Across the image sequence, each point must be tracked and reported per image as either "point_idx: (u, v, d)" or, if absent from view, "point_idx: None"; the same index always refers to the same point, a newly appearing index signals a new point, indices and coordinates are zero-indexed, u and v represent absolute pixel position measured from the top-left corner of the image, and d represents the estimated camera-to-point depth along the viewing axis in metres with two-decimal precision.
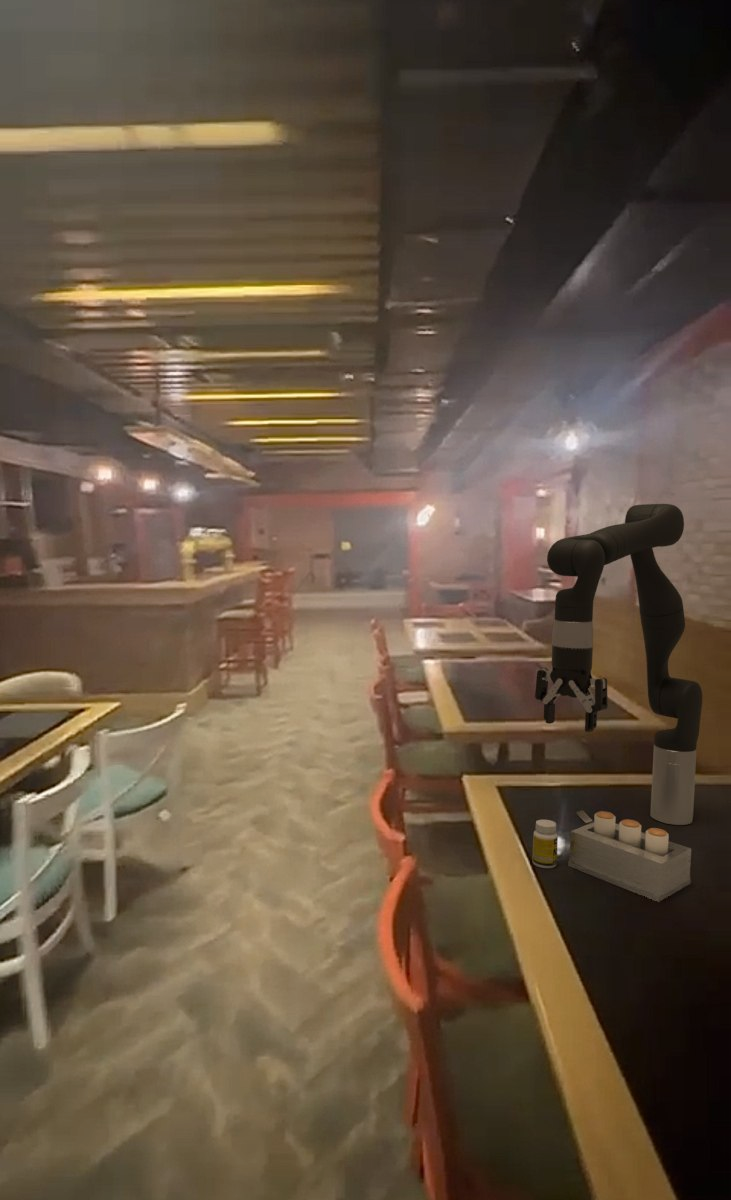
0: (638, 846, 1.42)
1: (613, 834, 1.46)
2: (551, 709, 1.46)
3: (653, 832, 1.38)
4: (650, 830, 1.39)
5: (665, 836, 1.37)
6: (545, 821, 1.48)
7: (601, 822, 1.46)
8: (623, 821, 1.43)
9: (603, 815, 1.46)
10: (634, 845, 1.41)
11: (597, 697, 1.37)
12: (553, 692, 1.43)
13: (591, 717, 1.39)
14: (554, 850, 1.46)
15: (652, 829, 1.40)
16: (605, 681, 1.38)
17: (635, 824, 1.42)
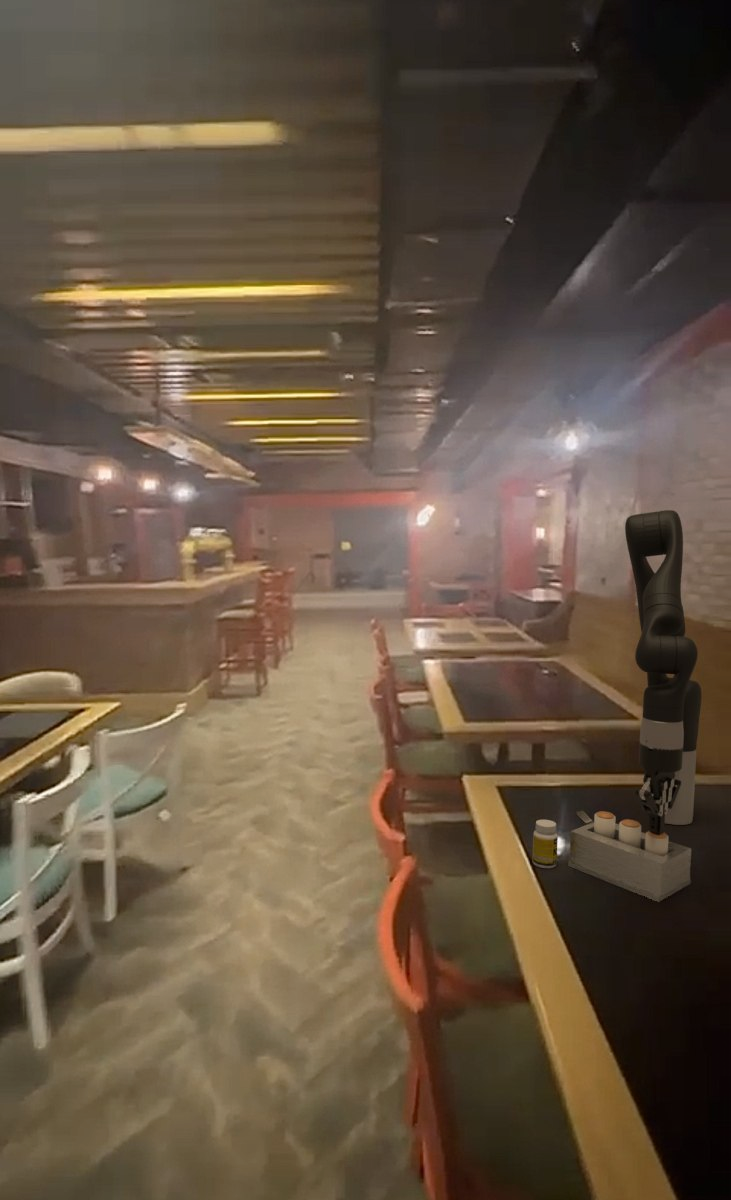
0: (638, 846, 1.42)
1: (613, 834, 1.46)
2: None
3: (653, 834, 1.38)
4: None
5: (665, 838, 1.37)
6: (545, 821, 1.48)
7: (601, 822, 1.46)
8: (623, 821, 1.43)
9: (603, 815, 1.46)
10: (634, 845, 1.41)
11: (673, 796, 1.40)
12: (664, 798, 1.36)
13: None
14: (554, 850, 1.46)
15: None
16: None
17: (635, 824, 1.42)
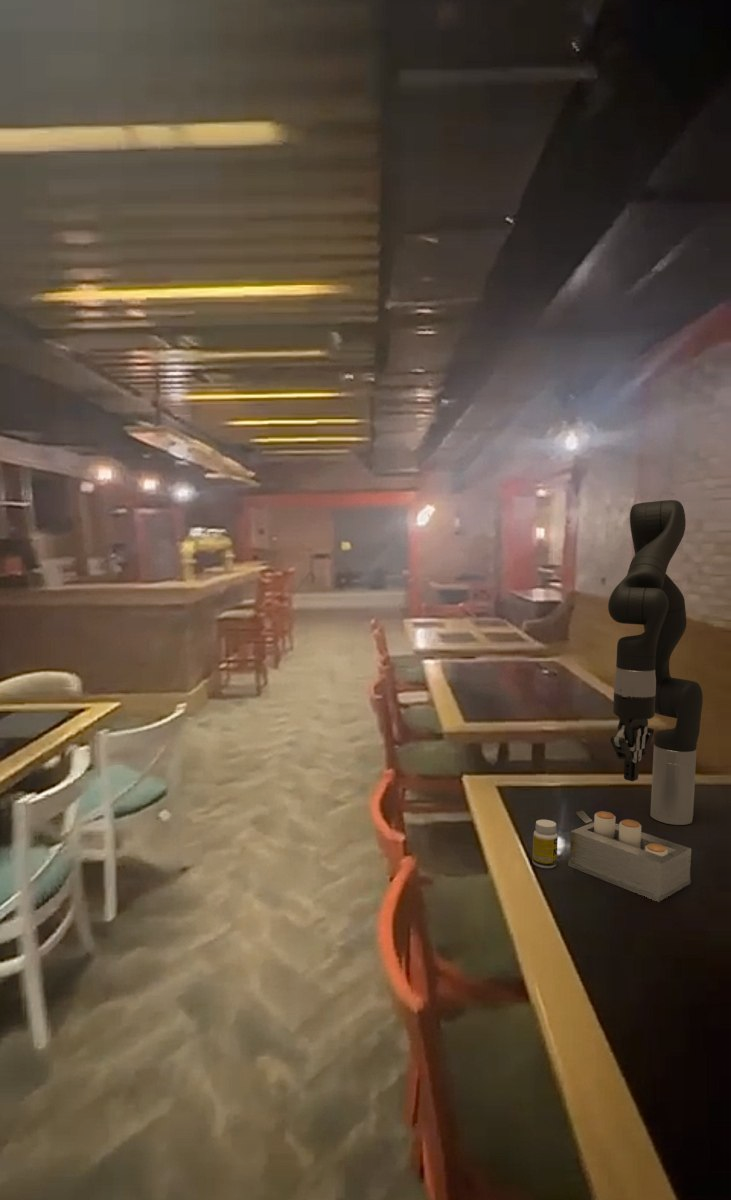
0: (638, 846, 1.42)
1: (613, 834, 1.46)
2: None
3: (652, 848, 1.38)
4: (649, 846, 1.39)
5: (664, 852, 1.38)
6: (545, 821, 1.48)
7: (601, 822, 1.46)
8: (623, 821, 1.43)
9: (603, 815, 1.46)
10: (634, 845, 1.41)
11: (647, 744, 1.44)
12: (638, 745, 1.41)
13: None
14: (554, 850, 1.46)
15: (651, 844, 1.40)
16: None
17: (635, 824, 1.42)
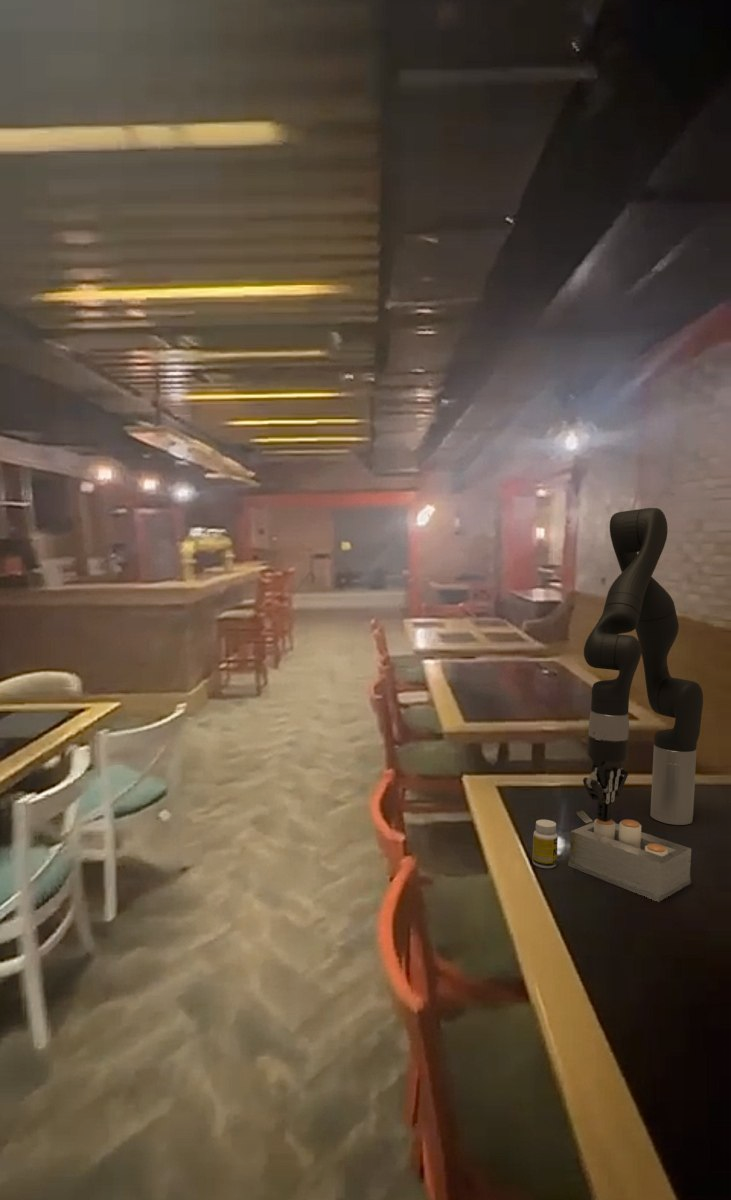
0: (638, 846, 1.42)
1: None
2: None
3: (652, 848, 1.38)
4: (649, 846, 1.39)
5: (664, 852, 1.38)
6: (545, 821, 1.48)
7: (601, 828, 1.46)
8: (623, 821, 1.43)
9: (603, 821, 1.46)
10: (634, 845, 1.41)
11: (621, 785, 1.48)
12: (611, 786, 1.45)
13: None
14: (554, 850, 1.46)
15: (651, 844, 1.40)
16: None
17: (635, 824, 1.42)
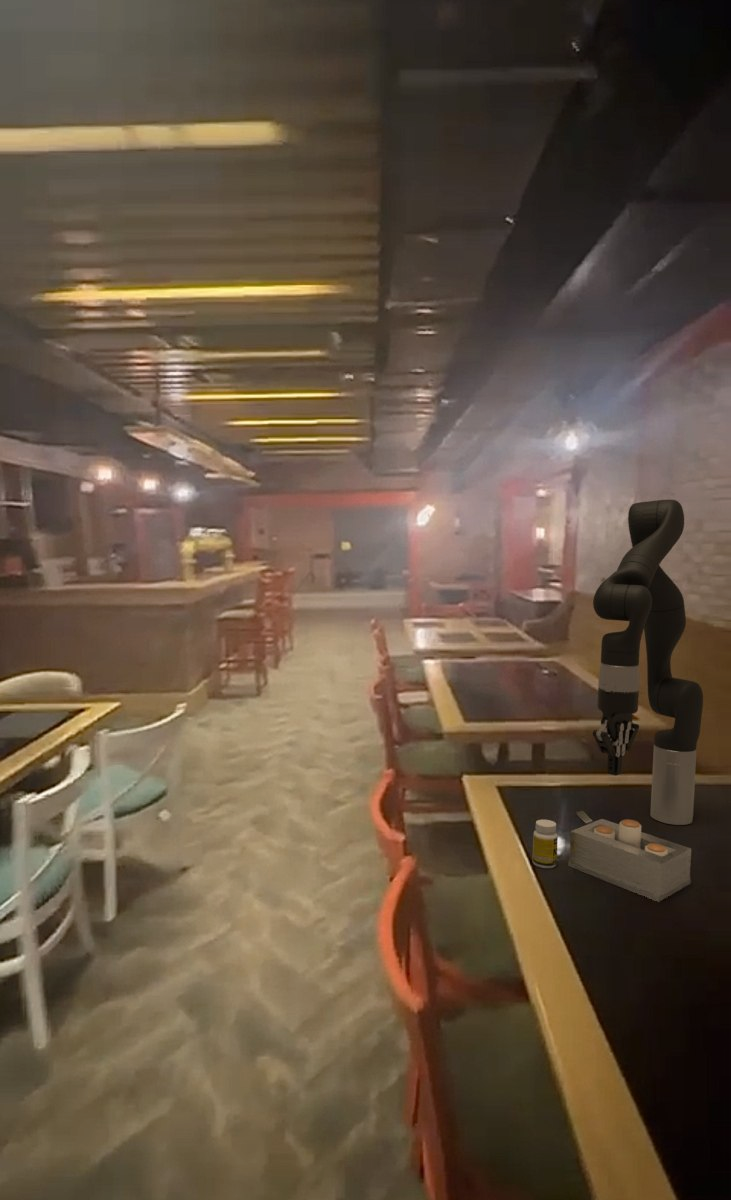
0: (638, 846, 1.42)
1: None
2: None
3: (652, 848, 1.38)
4: (649, 846, 1.39)
5: (664, 852, 1.38)
6: (545, 821, 1.48)
7: None
8: (623, 821, 1.43)
9: (602, 830, 1.47)
10: (634, 845, 1.41)
11: (631, 739, 1.46)
12: (621, 739, 1.43)
13: None
14: (554, 850, 1.46)
15: (651, 844, 1.40)
16: None
17: (635, 824, 1.42)
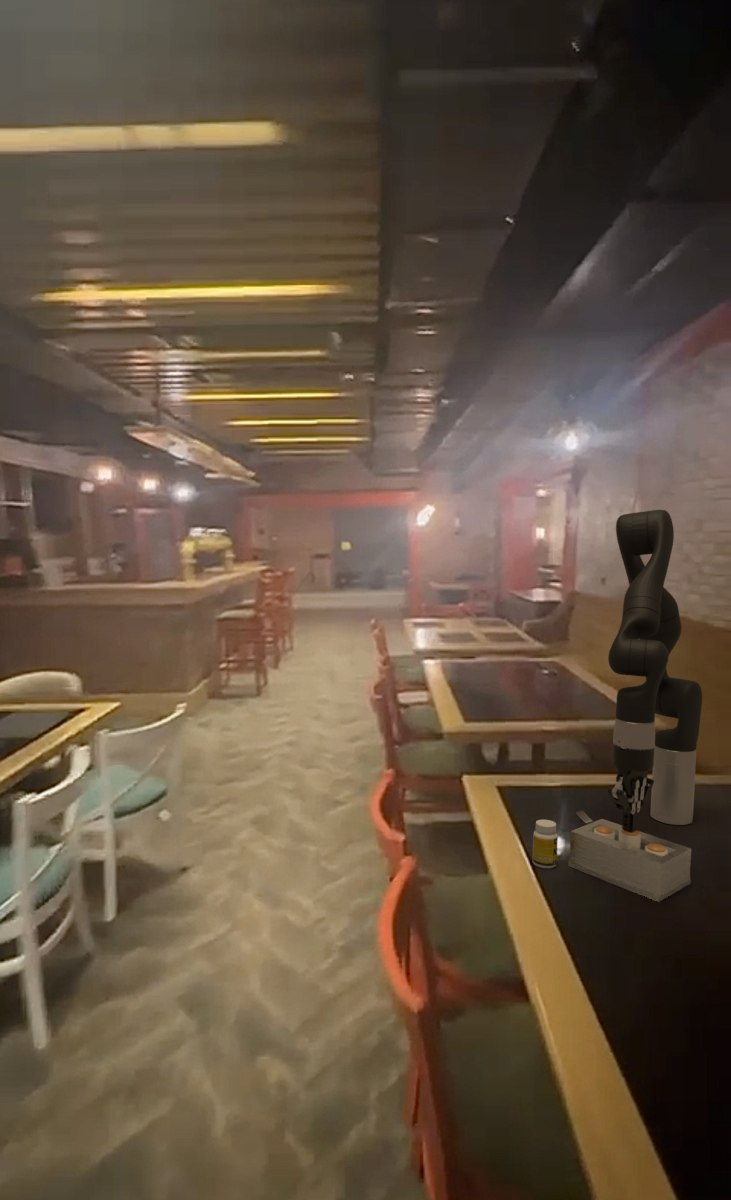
0: None
1: None
2: None
3: (652, 848, 1.38)
4: (649, 846, 1.39)
5: (664, 852, 1.38)
6: (545, 821, 1.48)
7: None
8: None
9: (602, 830, 1.47)
10: None
11: (646, 795, 1.44)
12: (637, 796, 1.41)
13: None
14: (554, 850, 1.46)
15: (651, 844, 1.40)
16: None
17: (635, 832, 1.42)
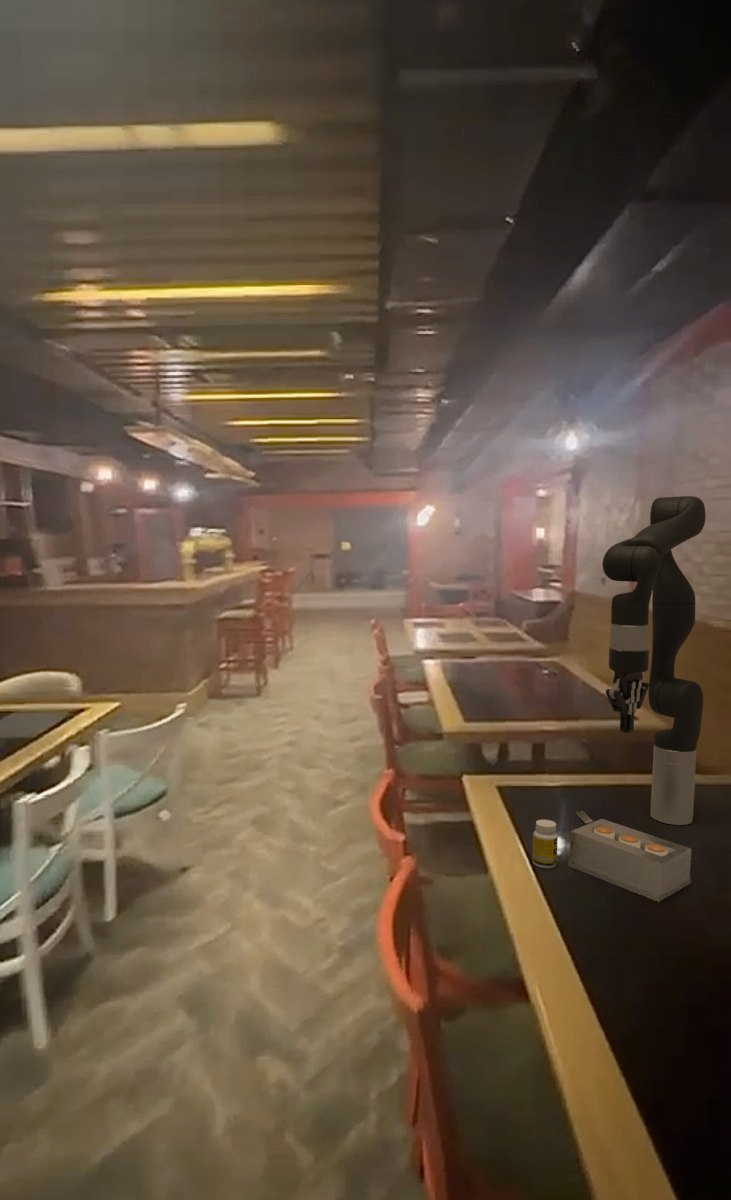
0: None
1: None
2: None
3: (652, 848, 1.38)
4: (649, 846, 1.39)
5: (664, 852, 1.38)
6: (545, 821, 1.48)
7: None
8: (622, 836, 1.44)
9: (602, 830, 1.47)
10: None
11: (642, 697, 1.50)
12: (633, 697, 1.46)
13: None
14: (554, 850, 1.46)
15: (651, 844, 1.40)
16: None
17: (634, 839, 1.42)
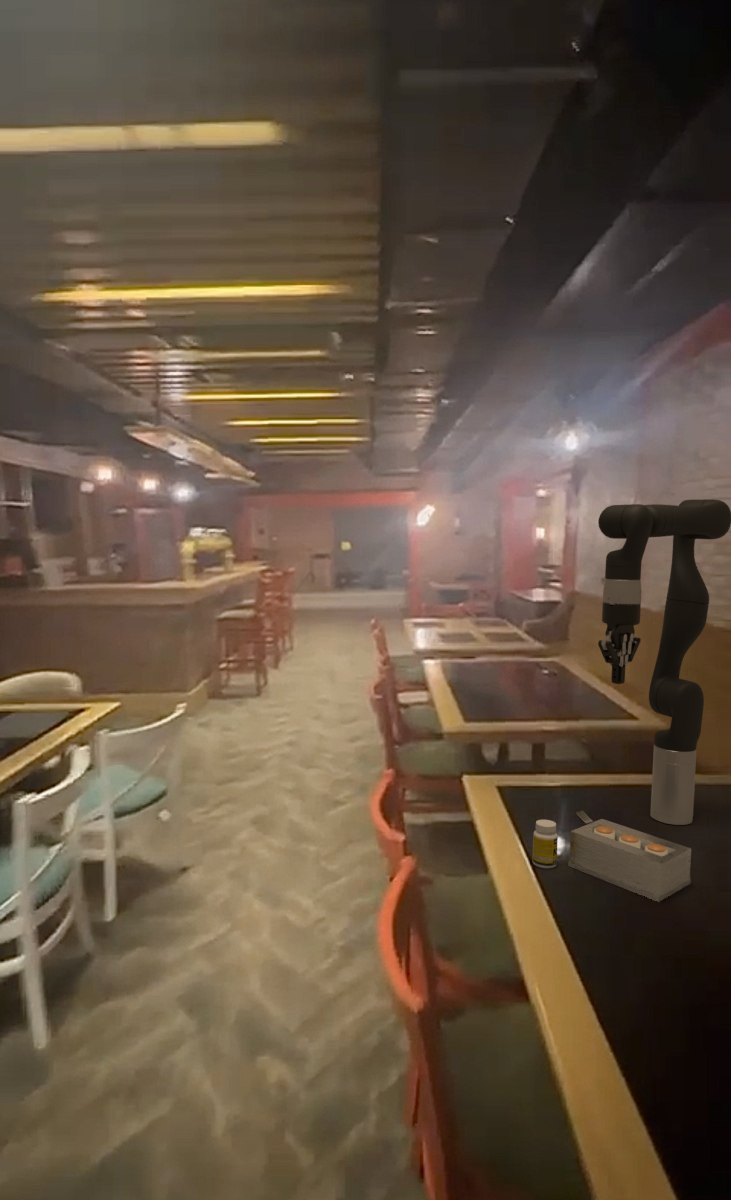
0: None
1: None
2: None
3: (652, 848, 1.38)
4: (649, 846, 1.39)
5: (664, 852, 1.38)
6: (545, 821, 1.48)
7: None
8: (622, 836, 1.44)
9: (602, 830, 1.47)
10: None
11: (633, 651, 1.56)
12: (624, 649, 1.53)
13: None
14: (554, 850, 1.46)
15: (651, 844, 1.40)
16: None
17: (634, 839, 1.42)
